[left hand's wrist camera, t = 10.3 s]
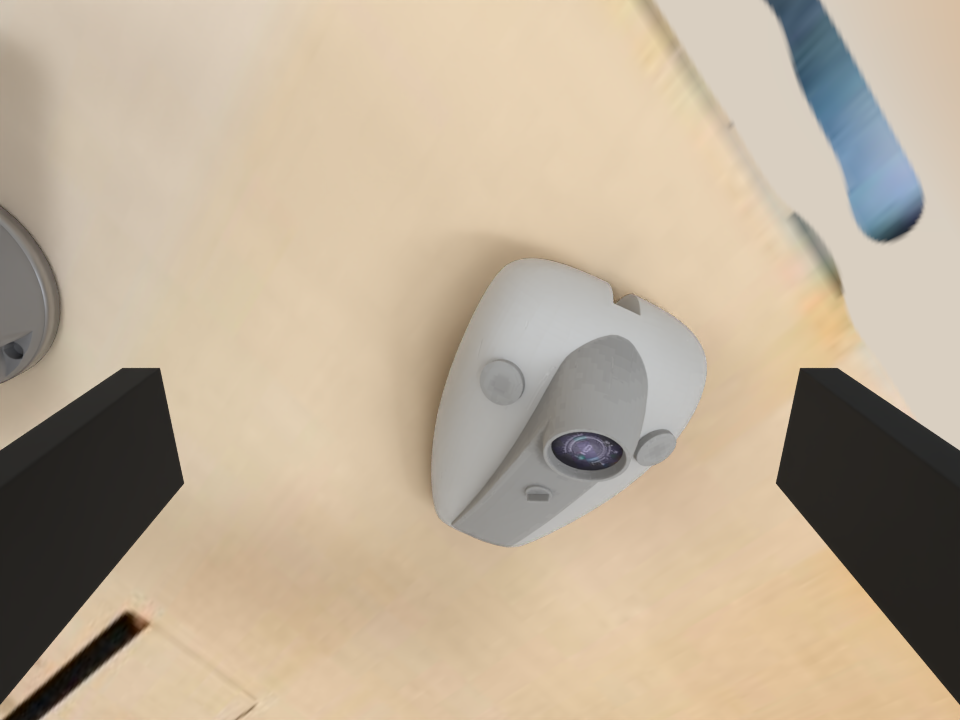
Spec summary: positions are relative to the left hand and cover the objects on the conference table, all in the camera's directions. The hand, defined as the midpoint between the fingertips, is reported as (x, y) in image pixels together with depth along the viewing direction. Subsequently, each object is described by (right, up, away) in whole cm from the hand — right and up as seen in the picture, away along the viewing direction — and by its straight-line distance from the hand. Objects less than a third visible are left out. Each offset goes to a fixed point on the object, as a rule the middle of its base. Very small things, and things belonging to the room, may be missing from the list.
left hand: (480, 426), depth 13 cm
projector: (+5, -2, +35) cm, 35 cm away
